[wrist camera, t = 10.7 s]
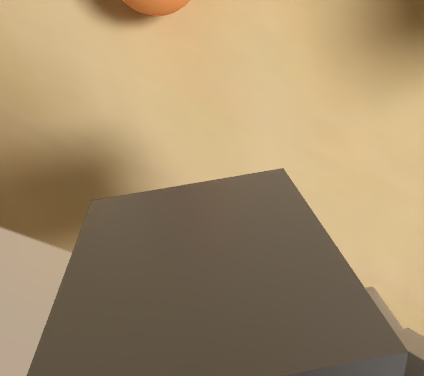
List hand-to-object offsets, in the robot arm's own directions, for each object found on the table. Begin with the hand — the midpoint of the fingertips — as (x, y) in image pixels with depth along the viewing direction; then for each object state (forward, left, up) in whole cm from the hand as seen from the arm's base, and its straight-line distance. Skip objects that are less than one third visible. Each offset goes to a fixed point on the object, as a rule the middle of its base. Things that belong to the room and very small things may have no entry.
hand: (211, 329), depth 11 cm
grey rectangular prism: (0, 0, -4) cm, 4 cm away
